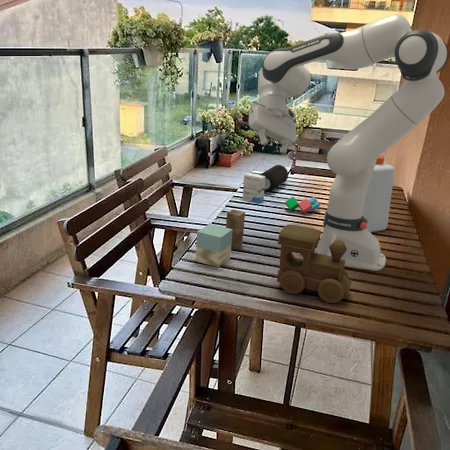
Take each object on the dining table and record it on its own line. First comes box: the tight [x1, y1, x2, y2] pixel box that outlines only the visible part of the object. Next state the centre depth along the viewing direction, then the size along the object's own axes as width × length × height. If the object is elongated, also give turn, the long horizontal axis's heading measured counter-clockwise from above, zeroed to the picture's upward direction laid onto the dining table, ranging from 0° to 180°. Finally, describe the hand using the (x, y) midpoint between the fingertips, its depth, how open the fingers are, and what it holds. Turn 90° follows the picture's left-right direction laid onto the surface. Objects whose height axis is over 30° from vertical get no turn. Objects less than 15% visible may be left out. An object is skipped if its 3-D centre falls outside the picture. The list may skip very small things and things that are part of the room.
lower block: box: [195, 245, 232, 268], centre depth 138 cm, size 8×8×5 cm
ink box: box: [242, 172, 265, 204], centre depth 197 cm, size 9×5×12 cm, turn 58°
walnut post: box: [225, 209, 246, 251], centre depth 147 cm, size 4×4×12 cm
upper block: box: [195, 223, 233, 253], centre depth 136 cm, size 8×8×5 cm
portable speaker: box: [259, 164, 289, 194], centre depth 219 cm, size 26×10×10 cm, turn 156°
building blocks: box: [285, 196, 321, 214], centre depth 188 cm, size 8×8×12 cm
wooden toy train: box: [276, 223, 352, 304], centre depth 121 cm, size 20×11×17 cm, turn 68°
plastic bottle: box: [362, 155, 395, 233], centre depth 172 cm, size 15×15×28 cm
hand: (274, 148), depth 144 cm, fingers open, 8 cm apart
